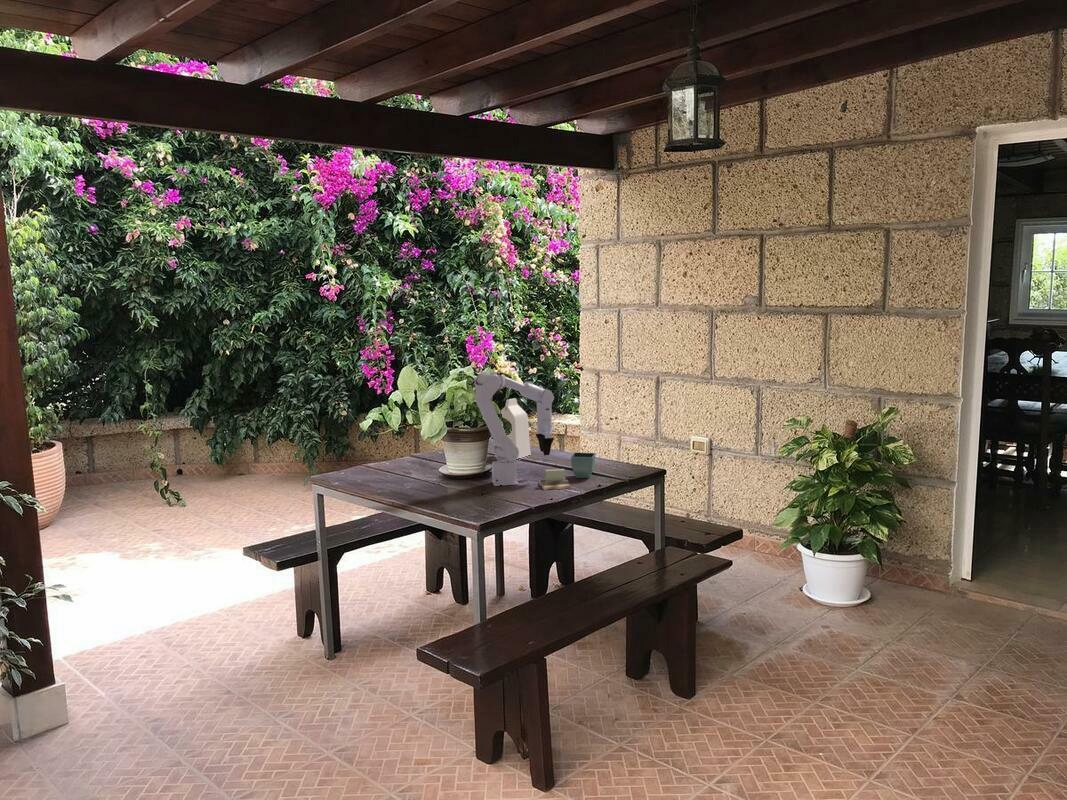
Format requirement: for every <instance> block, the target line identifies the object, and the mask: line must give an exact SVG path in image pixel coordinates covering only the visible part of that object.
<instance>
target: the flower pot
mask: <svg viewBox="0 0 1067 800" xmlns="http://www.w3.org/2000/svg"><path fill="white" fill-rule="evenodd" d="M570 460H571V461H570V462H571V468H572V472H573V474H574V476H575V478H577V479H590V478H591V476H592V473H593V471H594V468H595V463H596V453H595V452H573V453H572V455H571V456H570Z"/></svg>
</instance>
